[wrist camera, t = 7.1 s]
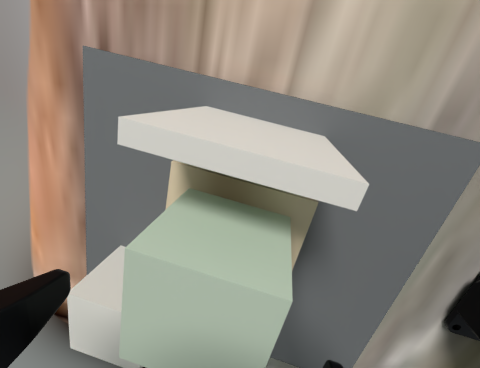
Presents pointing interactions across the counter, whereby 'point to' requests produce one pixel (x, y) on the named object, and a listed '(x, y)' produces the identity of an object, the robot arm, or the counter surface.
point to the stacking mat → (275, 185)
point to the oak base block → (245, 197)
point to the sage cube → (206, 285)
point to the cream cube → (99, 311)
